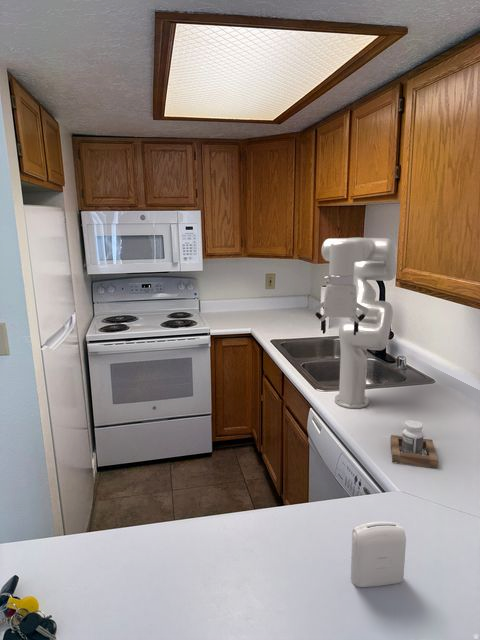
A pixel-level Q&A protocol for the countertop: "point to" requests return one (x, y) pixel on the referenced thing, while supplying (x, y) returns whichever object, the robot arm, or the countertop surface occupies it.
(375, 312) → the robot arm
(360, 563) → the photo printer
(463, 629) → the countertop surface
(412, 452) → the pill bottle
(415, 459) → the walnut dock
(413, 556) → the countertop surface
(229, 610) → the countertop surface
